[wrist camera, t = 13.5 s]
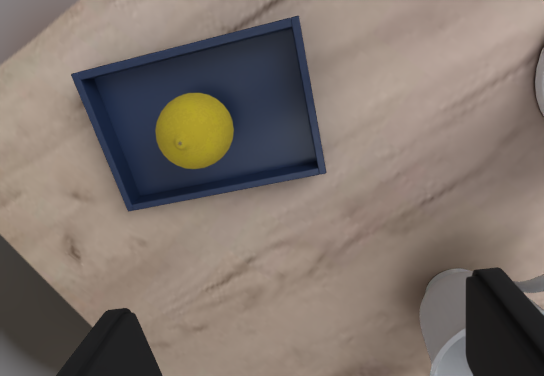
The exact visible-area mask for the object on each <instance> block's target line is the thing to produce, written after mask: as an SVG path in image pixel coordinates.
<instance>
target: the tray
mask: <svg viewBox="0 0 544 376" xmlns="http://www.w3.org/2000/svg"><path fill="white" fill-rule="evenodd" d="M71 76H72V78H73V80H74V83H75V85H76V88H77V90H78V92H79V95H80V97H81V100H82V102H83V104H84V107H85V109H86V112H87V114H88V116H89V119H90V121H91V124H92V126H93V128H94V131H95V133H96V136H97V138H98V140H99V143H100V145H101V148H102V150H103V152H104V155H105V157H106V160H107V162H108V164H109V167H110V169H111V172H112V174H113V176H114V179H115V181H116V184H117V186H118V188H119V191H120V193H121V196H122V198H123V200H124V203H125V205H126V208H127V210H128V211H134V210H139V209H144V208H149V207H154V206H159V205H165V204H170V203H175V202H180V201H185V200H190V199H196V198H201V197H206V196H211V195H216V194H222V193H227V192H232V191H237V190H242V189H247V188H253V187H258V186H263V185H268V184H273V183H278V182H284V181H289V180H294V179H299V178H304V177H309V176H315V175H319V174H325V173H326V168H325V162H324V156H323V151H322V145H321V139H320V134H319V128H318V122H317V117H316V111H315V105H314V100H313V94H312V89H311V83H310V77H309V72H308V66H307V60H306V55H305V49H304V43H303V38H302V32H301V26H300V21H299V16H295V17H291V18H287V19H283V20H279V21H275V22H272V23H268V24H264V25H260V26H256V27H252V28H248V29H244V30H240V31H237V32H233V33H229V34H225V35H221V36H217V37H213V38H209V39H205V40H201V41H198V42H194V43H190V44H186V45H182V46H178V47H174V48H170V49H166V50H163V51H159V52H155V53H151V54H147V55H143V56H139V57H135V58H131V59H127V60H124V61H120V62H116V63H112V64H108V65H104V66H100V67H96V68H92V69H88V70H85V71H81V72H77V73H73V74H71ZM187 93H202V94H207V95H210V96H212V97H214V98H216V99H217V100H219V101H220V102H221V103H222V104H223V105H224V106H225V107H226V109H227V110H228V111H229V113H230V116H231V118H232V121H233V128H234V133H233V140H232V143H231V145H230V148H229V149H228V151H227V152H226V154H225V155H224V156H223V157H222V158H221V159H220V160H218V161H217V162H216V163H214V164H212V165H210V166H207V167H205V168H199V169H187V168H183V167H180V166H177V165H175V164H174V163H172V162H171V161H169V160H168V159H167V158H166V157H165V156H164V155H163V153H162V152H161V150H160V148H159V146H158V143H157V140H156V132H155V130H156V124H157V120H158V118H159V116H160V113H161V111H162V110H163V109H164V108H165V106H166V105H167V104H168V103H169V102H170V101H172V100H173V99H175V98H176V97H178V96H181V95H184V94H187Z"/></svg>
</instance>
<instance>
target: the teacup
mask: <svg viewBox="0 0 544 376" xmlns="http://www.w3.org/2000/svg"><path fill="white" fill-rule="evenodd" d="M472 273H473V271H470V270H467V269H460V268H457V269H450V270H446V271H443V272H441V273H439V274H438V275H436V276H435V277H434V278H433V279H432V280H431V281H430V282H429V284H428V286H427V288H426V292H425V296H424V298H423V300H422V302H421V306H420V314H419V315H420V325H421V330H422V334H423V337H424V340H425V344H426V347H427V350H428V353H429V356H430V360H431V364H432V367H431V371H430V376H473V374H472V372H471V370H470V368H469V365H468V363H467V359H466V278H467V277H470V276H472ZM513 282H514V283H515V284H516V285H517V287H518V288H519V289H520V290H521V291H522V292H526V293H536V292H542V291H544V274H543V275H541V276H538V277H536V278H533V279H531V280H527V281H520V282H515V281H513ZM527 298H528V297H527ZM528 299H529V298H528ZM529 300H530V301H531V302H532V303H533V304H534V305H535V306H536V307H537V309H538V310H539V311H540V312H541V313H542V314H543V315H544V310H543V309H542V308H541V307H539V306H538V305H537V304H536V303H534V302H533V301H532V300H531V299H529Z"/></svg>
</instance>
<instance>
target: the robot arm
mask: <svg viewBox="0 0 544 376" xmlns="http://www.w3.org/2000/svg"><path fill="white" fill-rule="evenodd" d="M535 90H536V99H537V102H538V104H539V107H540V110H541V112H542V114H543V115H544V47H543V49H542V51H541V55H540V58H539V61H538V65H537V68H536V78H535ZM466 359H467V363H468V365H469V368H470V370H471V372H472V374H473V376H544V315H543V314H542V313H541V312H540V311H539V310H538V309H537V307H536V306H535V305H534V304H533V303H532V302H531V301H530V300H529V299H528V298H527V296H526V295H525V294H524V293H523V292H522V291H521V290H520V289H519V288H518V287H517V285H516V284H515V283H514V282H513V281H512V280H511V279H510V278H509V277H508V275H507V274H506V273H505V272H504V271H503V270H502V269H501V268H489V269H480V270H474V271H473V273H472V276H470V277H467V278H466ZM56 376H162V373H161V371H160V369H159V367H158V364H157V362H156V360H155V357H154V355H153V353H152V351H151V348H150V346H149V344H148V342H147V339H146V337H145V335H144V333H143V330H142V328H141V326H140V324H139V321H138V319H137V317H136V315H135V314H134V313H131V311H130V310H129V309H127V308H122V309H113V310H108V311H106V312H105V313H104V314H103V315H102V316H101V318H100V319H99V320H98V322H97V323H96V324H95V326H94V327H93V328H92V330H91V331H90V332H89V333H88V335H87V336H86V337H85V339H84V340H83V341H82V342H81V344H80V345H79V346H78V348H77V349H76V350H75V352H74V353H73V354H72V356H71V357H70V358H69V359H68V361H67V362H66V364H65V365H64V366H63V367H62V369H61V370H60V371H59V372H58V374H57V375H56Z"/></svg>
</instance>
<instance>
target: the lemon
mask: <svg viewBox="0 0 544 376" xmlns="http://www.w3.org/2000/svg"><path fill="white" fill-rule="evenodd" d="M155 132H156V140H157V143H158V146H159V148H160V150H161V152H162V153H163V155H164V156H165V157H166V158H167V159H168V160H169V161H171V162H172V163H174V164H175V165H177V166H180V167H183V168H187V169H199V168H205V167H207V166H210V165H212V164H214V163H216V162H217V161H218V160H220V159H221V158H222V157H223V156H224V155H225V154H226V152H227V151H228V149H229V148H230V145H231V143H232V140H233V133H234V128H233V121H232V118H231V116H230V113H229V111H228V110H227V109H226V107H225V106H224V105H223V104H222V103H221V102H220V101H219V100H217V99H216V98H214V97H212V96H210V95H207V94H202V93H187V94H184V95H181V96H178V97H176V98H175V99H173V100H172V101H170V102H169V103H168V104H167V105H166V106H165V108H164V109H163V110H162V111H161V113H160V116H159V118H158V120H157V124H156V130H155Z"/></svg>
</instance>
